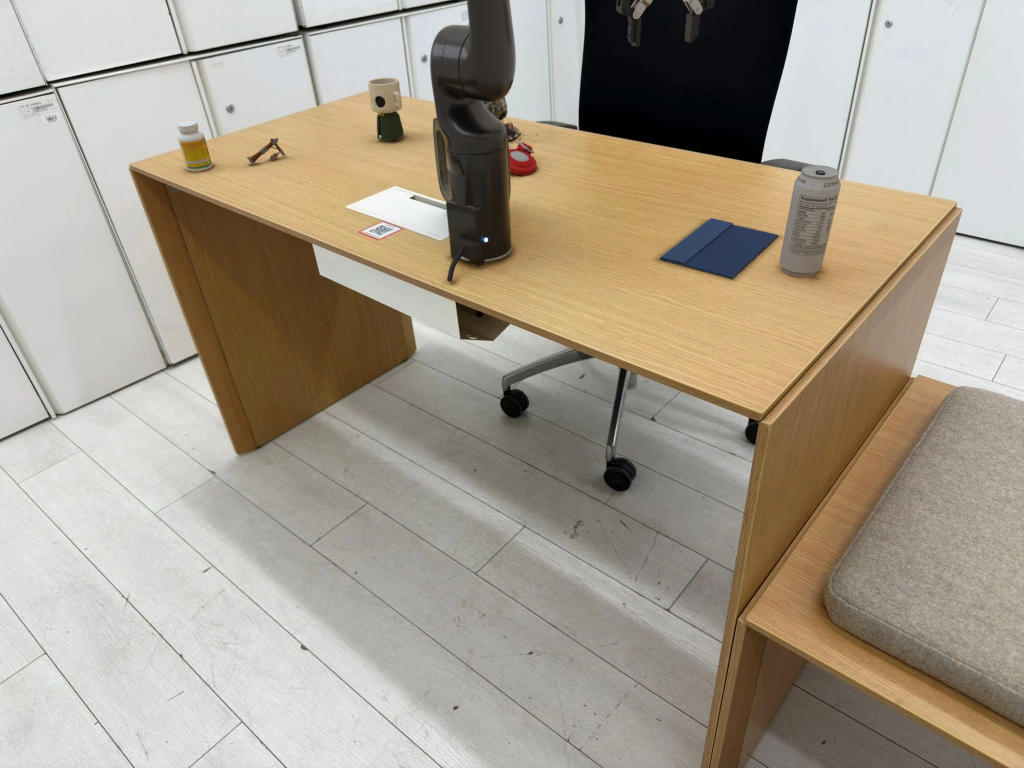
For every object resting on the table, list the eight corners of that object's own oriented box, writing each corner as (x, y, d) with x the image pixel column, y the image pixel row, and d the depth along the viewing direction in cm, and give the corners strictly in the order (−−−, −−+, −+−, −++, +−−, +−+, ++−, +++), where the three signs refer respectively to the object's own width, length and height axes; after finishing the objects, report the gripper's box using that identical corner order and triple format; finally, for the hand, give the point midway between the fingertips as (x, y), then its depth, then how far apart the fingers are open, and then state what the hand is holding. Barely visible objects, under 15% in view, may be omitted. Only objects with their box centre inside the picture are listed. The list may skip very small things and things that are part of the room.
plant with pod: (471, 141, 164) (464, 47, 153) (503, 128, 171) (498, 38, 160) (498, 147, 160) (493, 50, 148) (529, 134, 167) (527, 41, 155)
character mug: (365, 138, 169) (355, 80, 162) (388, 131, 173) (380, 74, 166) (393, 147, 163) (385, 87, 155) (417, 139, 167) (410, 80, 159)
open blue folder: (732, 279, 105) (733, 275, 104) (659, 259, 111) (659, 256, 111) (778, 236, 116) (778, 233, 116) (709, 220, 122) (710, 217, 122)
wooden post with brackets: (289, 152, 159) (277, 135, 156) (261, 174, 158) (248, 158, 155) (286, 151, 161) (274, 134, 157) (258, 172, 159) (245, 156, 156)
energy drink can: (819, 262, 108) (841, 164, 99) (821, 280, 103) (846, 179, 95) (777, 259, 109) (796, 162, 101) (778, 277, 105) (798, 177, 96)
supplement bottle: (183, 168, 157) (170, 123, 151) (207, 162, 159) (195, 118, 154) (192, 174, 153) (178, 128, 148) (216, 168, 156) (203, 123, 150)
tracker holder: (542, 169, 143) (494, 161, 141) (536, 188, 147) (489, 180, 144) (535, 138, 151) (489, 130, 149) (530, 156, 155) (485, 149, 152)
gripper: (631, -81, 94) (624, 52, 104) (732, -87, 96) (717, 44, 105) (614, -83, 100) (609, 42, 110) (710, -89, 102) (697, 36, 111)
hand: (662, 43), depth 107 cm, fingers open, 8 cm apart
